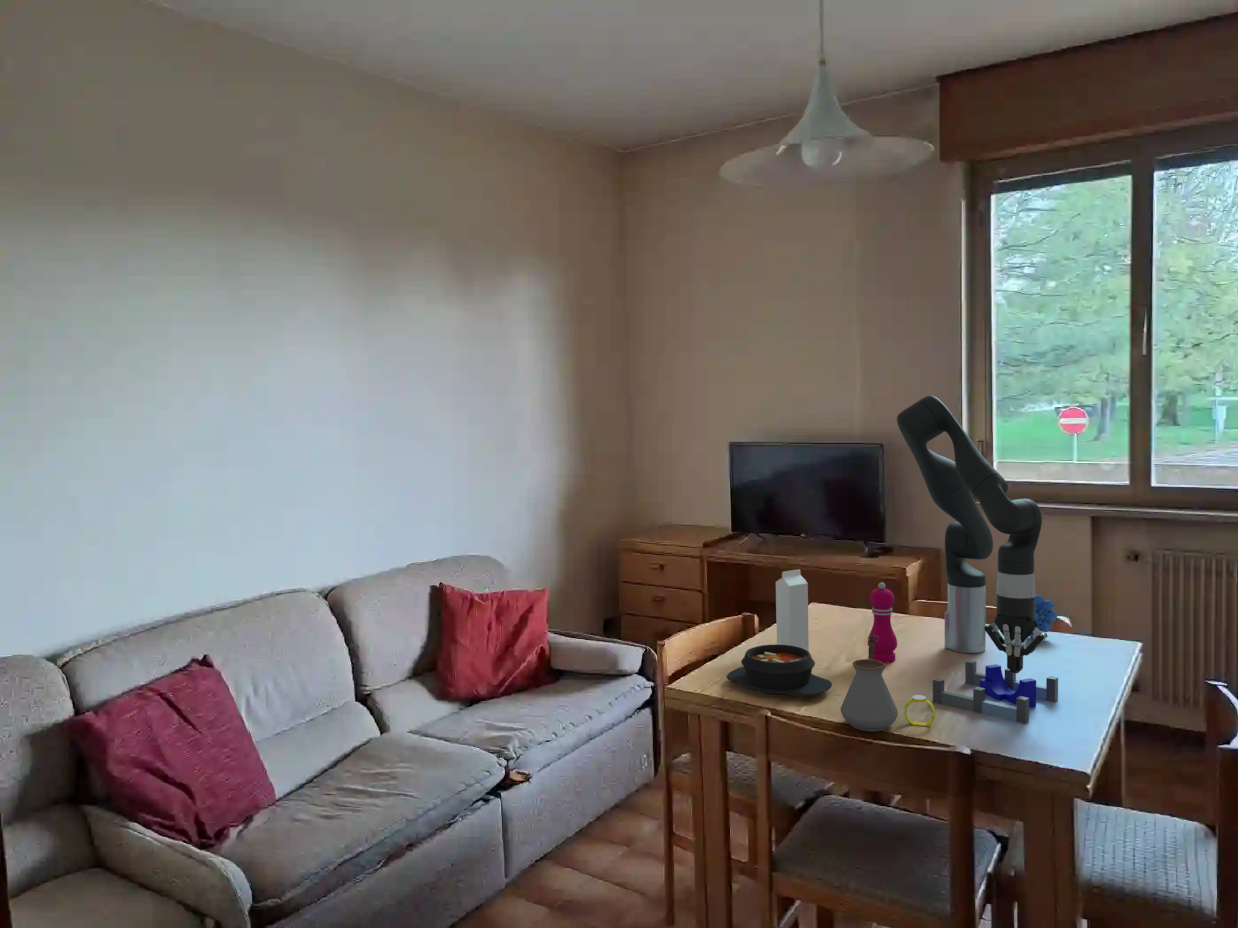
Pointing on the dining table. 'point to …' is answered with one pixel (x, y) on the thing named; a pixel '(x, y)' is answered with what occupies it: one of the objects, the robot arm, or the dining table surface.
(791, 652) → the casserole
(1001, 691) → the blue curved block
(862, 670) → the coffee pot
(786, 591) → the milk
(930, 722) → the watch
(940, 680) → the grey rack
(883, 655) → the pepper mill
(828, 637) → the dining table surface
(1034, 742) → the dining table surface
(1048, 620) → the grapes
